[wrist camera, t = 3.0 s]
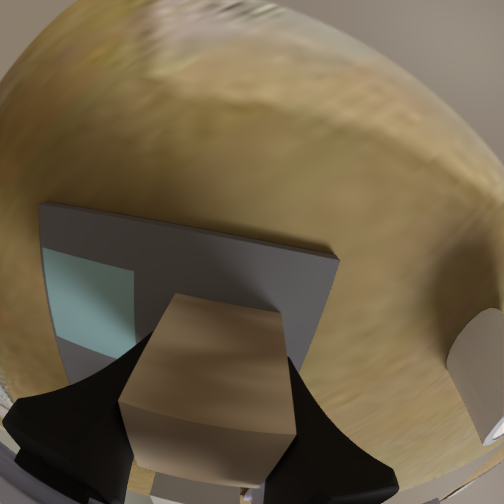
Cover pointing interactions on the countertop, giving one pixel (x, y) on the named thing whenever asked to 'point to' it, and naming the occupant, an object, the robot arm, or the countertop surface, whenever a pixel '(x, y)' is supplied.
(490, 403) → the white tapered cylinder
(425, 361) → the countertop surface
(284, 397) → the maple block
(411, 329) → the countertop surface
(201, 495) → the grey block
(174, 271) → the mat
